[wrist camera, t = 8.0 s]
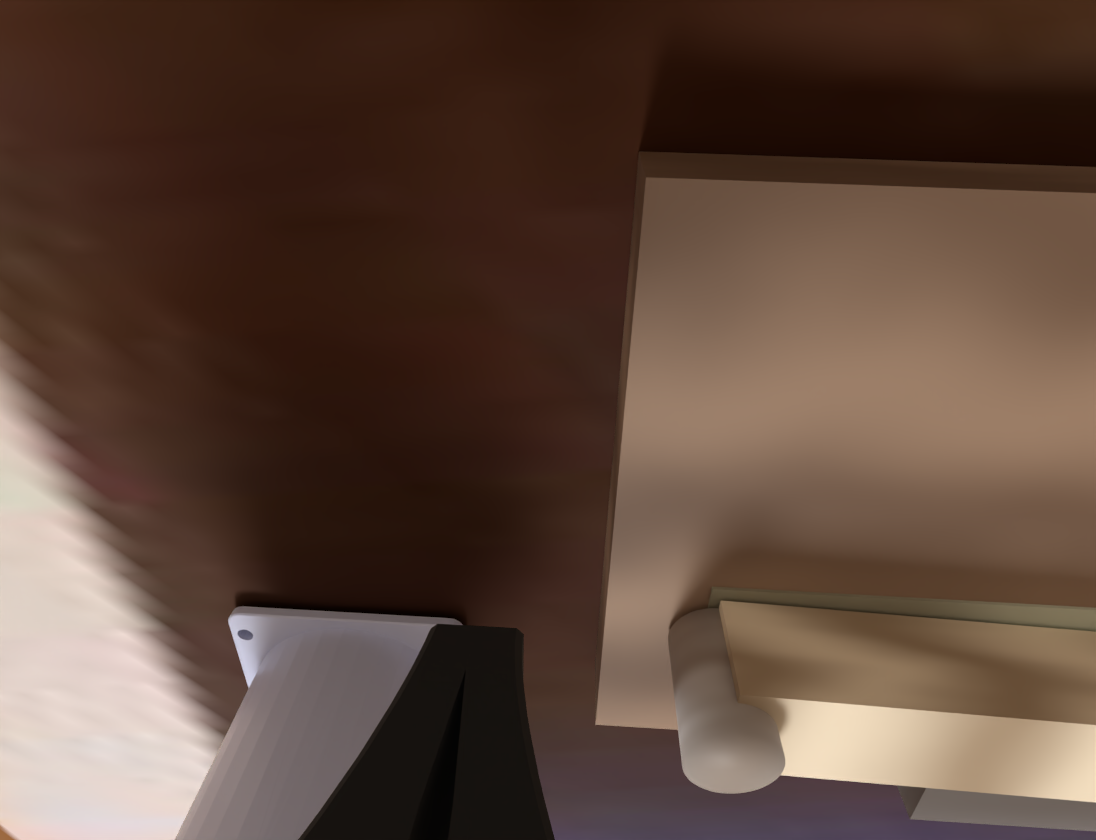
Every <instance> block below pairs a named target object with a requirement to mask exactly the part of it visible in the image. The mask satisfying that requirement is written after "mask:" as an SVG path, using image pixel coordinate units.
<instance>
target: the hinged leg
mask: <svg viewBox="0 0 1096 840" xmlns="http://www.w3.org/2000/svg"><path fill="white" fill-rule="evenodd" d="M668 645H669V654H670V663H671V672H672V680H673V689H674V698H675V707H676V715H677V724H678V733H679V742H680V750H681V759H682V768H683V771H684V773H685V775H686V777H687V778H688V779H689V780H690V781H691V782H693V783H694V784H695V785H697V786H699V787H701V788H703V789H706V790H709V791H713V792H718V793H744V792H750V791H754V790H757V789H760V788H762V787H765V786H767V785H769V784H770V783H772V782H773V781H775V780H776V779H777V778H778V777H779V776H780V775H785V776H796V777H808V778H819V779H831V780H842V781H854V782H865V783H877V784H888V785H900V786H911V787H923V788H934V789H946V790H957V791H969V792H980V793H992V794H1003V795H1015V796H1027V797H1038V798H1050V799H1061V800H1073V801H1084V802H1096V632H1093V631H1081V630H1069V629H1057V628H1045V627H1033V626H1021V625H1009V624H997V623H985V622H973V621H961V620H949V619H937V618H925V617H913V616H901V615H889V614H877V613H865V612H853V611H841V610H829V609H817V608H805V607H793V606H781V605H769V604H757V603H745V602H733V601H720V605H719V608H706V609H700V610H696V611H693V612H690V613H688V614H686V615H684V616H683V617H681V618H680V619H678V620H677V621H676V622H675V623H674V624H673V626H672V627H671V629H670V631H669V634H668Z"/></svg>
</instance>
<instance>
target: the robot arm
mask: <svg viewBox="0 0 1096 840" xmlns="http://www.w3.org/2000/svg"><path fill="white" fill-rule="evenodd" d="M228 623H229V626H230V629H231V633H232V636H233V639H234V642H235V646H236V649H237V652H238V655H239V659H240V662H241V665H242V668H243V672H244V675H245V678H246V681H247V685H248V688H249V689H248V691H247V693H246V695H245V697H244V699H243V701H242V703H241V705H240V707H239V710H238V712H237V714H236V716H235V718H234V720H233V722H232V724H231V726H230V728H229V730H228V732H227V734H226V736H225V738H224V740H223V742H222V744H221V746H220V748H219V750H218V753H217V755H216V757H215V759H214V761H213V763H212V765H211V767H210V769H209V771H208V773H207V775H206V777H205V779H204V781H203V783H202V785H201V787H200V789H199V791H198V793H197V796H196V798H195V800H194V802H193V804H192V806H191V808H190V810H189V812H188V814H187V816H186V818H185V820H184V822H183V824H182V826H181V828H180V830H179V832H178V834H177V836H176V839H175V840H555V839H554V835H553V831H552V828H551V824H550V820H549V816H548V812H547V808H546V804H545V800H544V796H543V792H542V788H541V783H540V779H539V775H538V770H537V765H536V760H535V755H534V750H533V745H532V740H531V735H530V729H529V723H528V717H527V710H526V702H525V693H524V684H523V645H524V634H523V633H521V632H520V631H519V630H518V629H517V628H503V627H485V626H468V625H462V623H461V622H459V621H457V620H455V619H452V618H439V617H422V616H404V615H387V614H369V613H352V612H334V611H317V610H299V609H282V608H265V607H247V606H243V607H237V608H235V609H234V610H233V612H232V613H231V615H230V617H229V618H228Z"/></svg>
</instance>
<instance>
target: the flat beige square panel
mask: <svg viewBox="0 0 1096 840" xmlns="http://www.w3.org/2000/svg"><path fill="white" fill-rule="evenodd" d="M720 601H733V602H745V603H757V604H769V605H781V606H793V607H805V608H817V609H829V610H841V611H853V612H865V613H877V614H889V615H901V616H913V617H925V618H937V619H949V620H961V621H973V622H985V623H997V624H1009V625H1021V626H1033V627H1045V628H1057V629H1069V630H1081V631H1093V632H1096V167H1081V166H1052V165H1022V164H993V163H964V162H935V161H905V160H876V159H847V158H818V157H789V156H759V155H730V154H701V153H672V152H643V151H639V156H638V167H637V179H636V191H635V202H634V214H633V226H632V237H631V249H630V261H629V272H628V284H627V296H626V307H625V319H624V331H623V342H622V354H621V366H620V377H619V389H618V401H617V413H616V424H615V436H614V448H613V459H612V471H611V483H610V494H609V506H608V518H607V529H606V541H605V553H604V564H603V576H602V588H601V599H600V611H599V623H598V634H597V646H596V658H595V725H611V726H627V727H643V728H659V729H675V730H678V724H677V715H676V707H675V698H674V689H673V680H672V672H671V663H670V654H669V645H668V634H669V631H670V629H671V627H672V626H673V624H674V623H675V622H676V621H677V620H678V619H680V618H681V617H683V616H684V615H686V614H688V613H690V612H693V611H696V610H700V609H706V608H719V605H720ZM897 786H898V789H899V792H900V794H901V797H902V800H903V802H904V805H905V808H906V810H907V813H908V815H909V818H910V819H916V820H932V821H947V822H962V823H977V824H992V825H1008V826H1023V827H1038V828H1053V829H1069V830H1084V831H1096V802H1084V801H1073V800H1061V799H1050V798H1038V797H1027V796H1015V795H1003V794H992V793H980V792H969V791H957V790H946V789H934V788H923V787H911V786H900V785H897Z"/></svg>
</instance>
